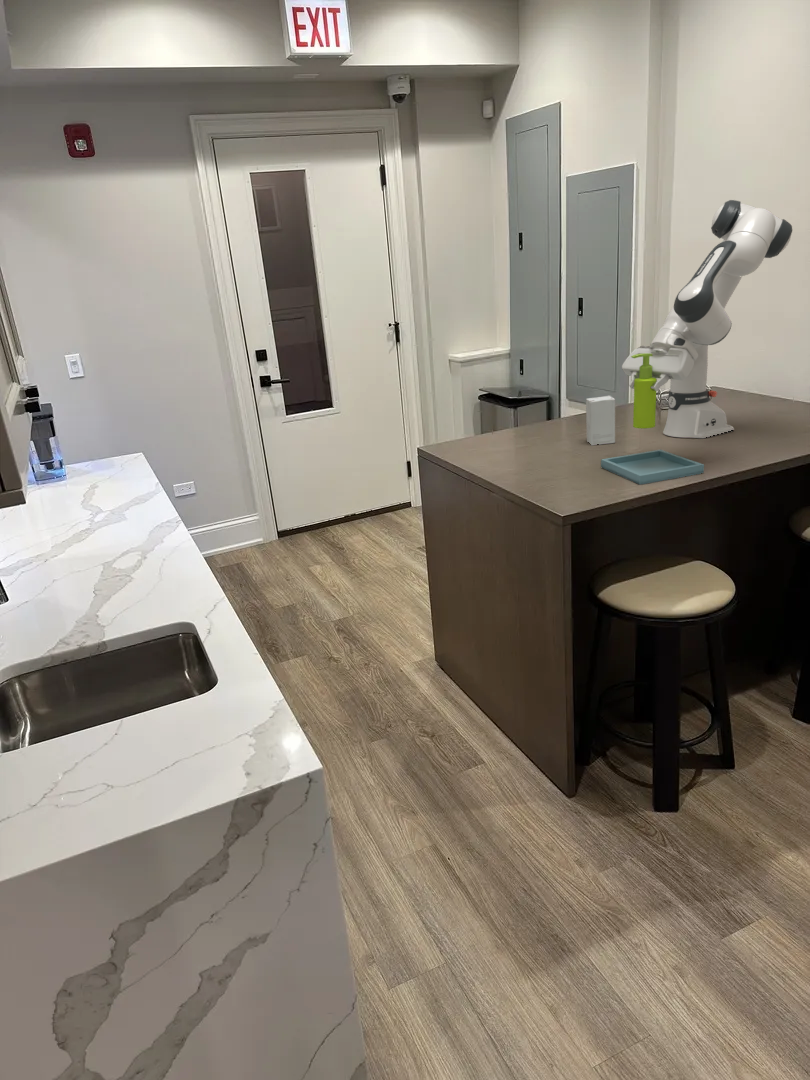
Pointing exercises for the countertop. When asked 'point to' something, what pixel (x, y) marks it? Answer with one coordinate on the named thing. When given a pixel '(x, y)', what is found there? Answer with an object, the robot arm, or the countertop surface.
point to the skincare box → (600, 420)
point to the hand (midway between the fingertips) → (642, 388)
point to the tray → (652, 466)
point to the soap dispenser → (644, 395)
